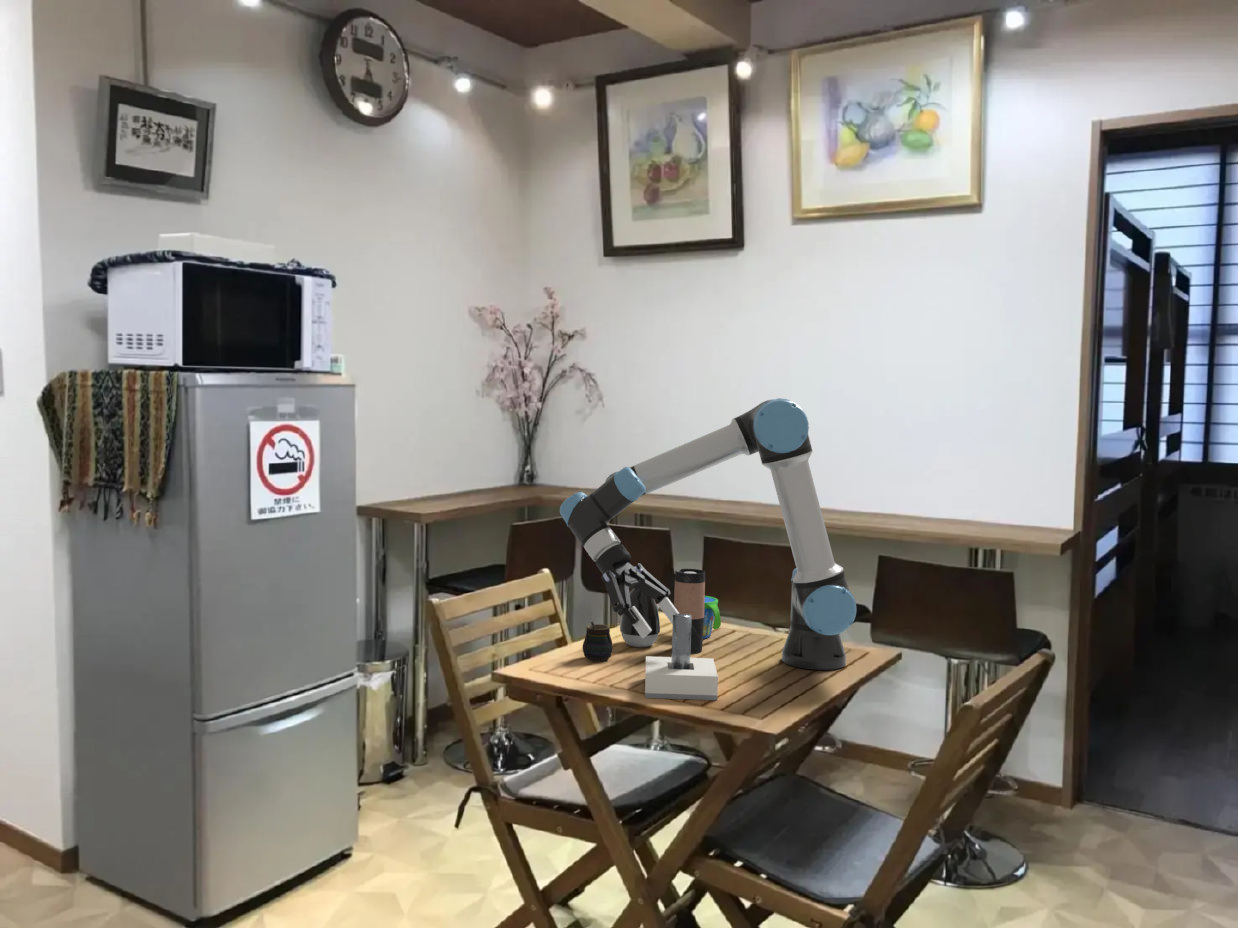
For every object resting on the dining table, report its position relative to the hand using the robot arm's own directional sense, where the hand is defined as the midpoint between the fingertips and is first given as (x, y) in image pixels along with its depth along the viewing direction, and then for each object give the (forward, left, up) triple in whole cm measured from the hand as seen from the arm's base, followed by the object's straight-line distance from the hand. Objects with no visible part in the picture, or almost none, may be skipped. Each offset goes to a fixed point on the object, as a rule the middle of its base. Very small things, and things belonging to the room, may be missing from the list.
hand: (663, 629), depth 217 cm
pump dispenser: (+5, -37, -13) cm, 39 cm away
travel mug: (-7, -33, -13) cm, 36 cm away
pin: (-4, +2, -11) cm, 12 cm away
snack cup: (-10, -49, -13) cm, 52 cm away
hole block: (-4, +2, -12) cm, 13 cm away
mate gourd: (+15, -21, -13) cm, 29 cm away
